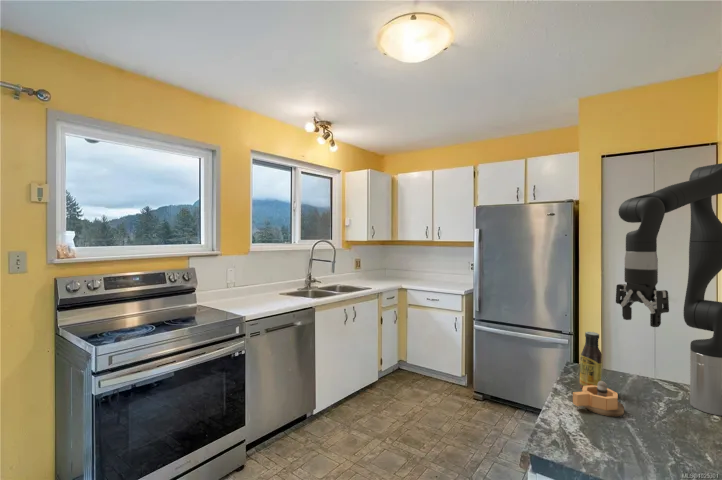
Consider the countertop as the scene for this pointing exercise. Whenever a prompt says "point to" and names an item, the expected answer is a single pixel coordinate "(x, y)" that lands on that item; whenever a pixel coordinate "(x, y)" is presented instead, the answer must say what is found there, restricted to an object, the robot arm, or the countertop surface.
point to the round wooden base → (603, 392)
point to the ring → (596, 398)
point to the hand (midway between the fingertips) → (640, 323)
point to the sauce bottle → (590, 361)
